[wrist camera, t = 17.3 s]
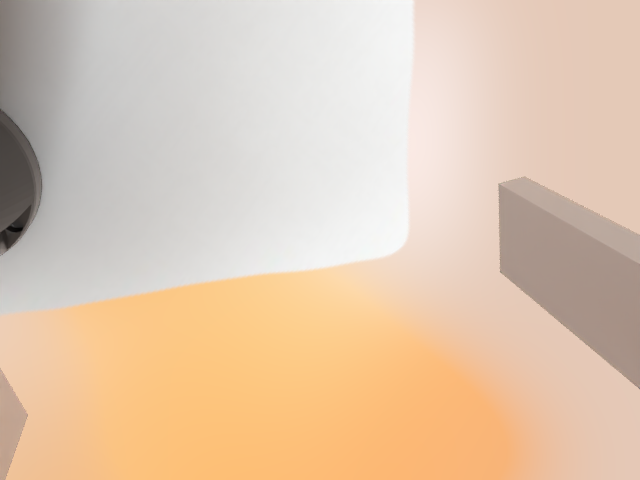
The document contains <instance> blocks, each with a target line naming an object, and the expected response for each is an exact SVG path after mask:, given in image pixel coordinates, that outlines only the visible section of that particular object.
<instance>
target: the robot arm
mask: <svg viewBox="0 0 640 480" xmlns="http://www.w3.org/2000/svg"><path fill="white" fill-rule="evenodd" d="M498 185H499V237H500V272H501V273H502V274H503V275H504V276H505V277H507V278H508V279H509V280H510V281H511V282H513V283H514V284H515V285H516V286H517V287H519V288H520V289H521V290H522V291H523V292H524V293H526V294H527V295H528V296H529V297H530V298H532V299H533V300H534V301H535V302H536V303H538V304H539V305H540V306H541V307H542V308H544V309H545V310H546V311H547V312H548V313H549V314H551V315H552V316H553V317H554V318H555V319H557V320H558V321H559V322H560V323H561V324H563V325H564V326H565V327H566V328H567V329H569V330H570V331H571V332H572V333H573V334H575V335H576V336H577V337H578V338H579V339H580V340H582V341H583V342H584V343H585V344H586V345H588V346H589V347H590V348H591V349H593V350H594V351H595V352H596V353H597V354H598V355H600V356H601V357H602V358H603V359H604V360H606V361H607V362H608V363H609V364H610V365H612V366H613V367H614V368H615V369H616V370H617V371H619V372H620V373H621V374H622V375H623V376H625V377H626V378H627V379H628V380H630V381H631V382H632V383H633V384H634V385H635V386H637V387H638V388H639V389H640V235H639V234H637V233H635V232H633V231H631V230H629V229H627V228H625V227H623V226H621V225H619V224H617V223H615V222H613V221H611V220H609V219H607V218H605V217H603V216H601V215H599V214H598V213H595V212H594V211H592V210H590V209H588V208H586V207H584V206H582V205H580V204H578V203H576V202H574V201H572V200H570V199H568V198H566V197H564V196H562V195H560V194H558V193H556V192H554V191H552V190H550V189H548V188H546V187H544V186H542V185H540V184H538V183H536V182H534V181H532V180H530V179H528V178H526V177H521V178H518V179H514V180H510V181H507V182H503V183H499V184H498ZM41 188H42V184H41V174H40V169H39V165H38V162H37V159H36V156H35V154H34V152H33V150H32V148H31V146H30V144H29V142H28V140H27V139H26V137H25V136H24V134H23V133H22V132H21V131H20V129H19V128H18V127H17V126H16V125H15V123H14V122H13V121H12V120H11V119H10V118H9V117H8V116H7V115H6V114H4V113H3V112H2V111H1V110H0V256H1V255H3V254H4V253H5V252H7V251H8V250H9V249H10V248H12V247H13V246H14V245H15V244H16V243H17V242H18V241H19V240H20V238H21V237H22V236H23V235H24V233H25V232H26V230H27V229H28V227H29V225H30V224H31V222H32V221H33V219H34V217H35V215H36V212H37V210H38V207H39V203H40V199H41ZM27 416H28V414H27V413H26V411H25V409H24V408H23V406H22V404H21V403H20V401H19V399H18V397H17V396H16V394H15V392H14V391H13V389H12V387H11V386H10V384H9V382H8V381H7V379H6V377H5V376H4V374H3V372H2V371H1V369H0V480H5V479H6V476H7V473H8V470H9V467H10V464H11V462H12V458H13V456H14V453H15V450H16V447H17V444H18V442H19V439H20V436H21V433H22V430H23V427H24V425H25V421H26V419H27Z"/></svg>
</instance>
